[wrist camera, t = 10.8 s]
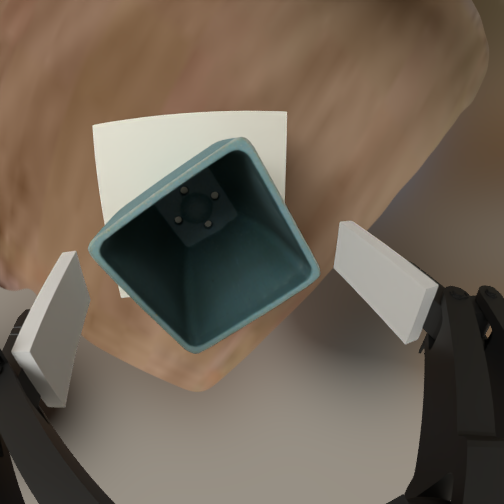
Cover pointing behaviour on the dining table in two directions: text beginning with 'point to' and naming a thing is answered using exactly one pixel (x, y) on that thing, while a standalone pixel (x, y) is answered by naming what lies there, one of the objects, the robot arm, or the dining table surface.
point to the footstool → (178, 150)
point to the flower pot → (207, 247)
